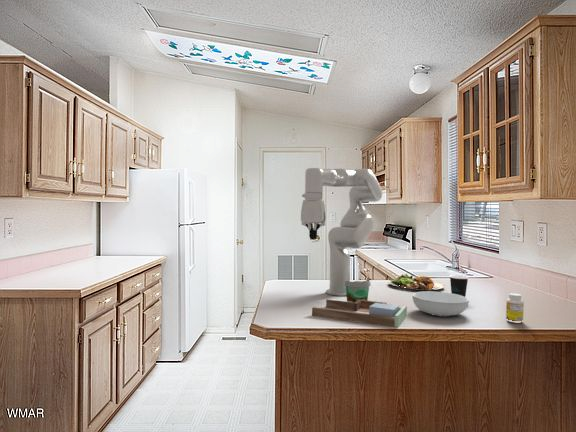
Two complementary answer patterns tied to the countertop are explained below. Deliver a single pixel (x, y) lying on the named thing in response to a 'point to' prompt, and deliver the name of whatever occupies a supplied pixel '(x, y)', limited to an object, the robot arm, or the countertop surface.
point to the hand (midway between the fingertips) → (313, 239)
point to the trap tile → (364, 309)
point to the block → (383, 309)
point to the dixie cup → (458, 284)
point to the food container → (357, 290)
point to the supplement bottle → (514, 307)
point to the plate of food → (416, 283)
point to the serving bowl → (440, 303)
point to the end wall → (400, 316)
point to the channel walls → (352, 315)
